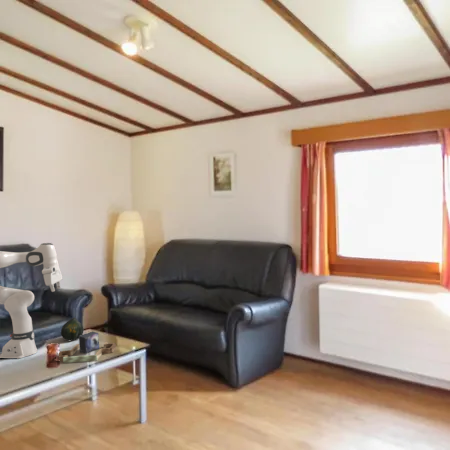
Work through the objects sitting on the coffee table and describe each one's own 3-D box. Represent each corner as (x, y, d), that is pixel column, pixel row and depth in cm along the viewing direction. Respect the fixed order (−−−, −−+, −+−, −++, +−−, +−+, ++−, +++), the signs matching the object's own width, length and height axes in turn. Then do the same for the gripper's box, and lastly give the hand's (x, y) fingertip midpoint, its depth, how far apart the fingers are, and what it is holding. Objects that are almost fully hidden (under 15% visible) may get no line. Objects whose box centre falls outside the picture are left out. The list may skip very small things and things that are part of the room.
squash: (55, 336, 301) (69, 317, 303) (58, 331, 316) (72, 313, 317) (73, 348, 303) (87, 329, 305) (75, 342, 318) (89, 324, 320)
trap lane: (52, 363, 263) (52, 358, 263) (67, 349, 289) (67, 344, 288) (107, 359, 263) (107, 354, 263) (117, 345, 289) (117, 340, 288)
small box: (86, 354, 276) (84, 337, 276) (79, 352, 280) (77, 336, 280) (100, 348, 285) (98, 332, 284) (93, 347, 289) (92, 331, 288)
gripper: (52, 266, 294) (57, 287, 295) (40, 271, 274) (45, 294, 274) (62, 265, 294) (66, 285, 295) (50, 270, 274) (55, 292, 274)
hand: (56, 289), depth 284 cm, fingers open, 8 cm apart
